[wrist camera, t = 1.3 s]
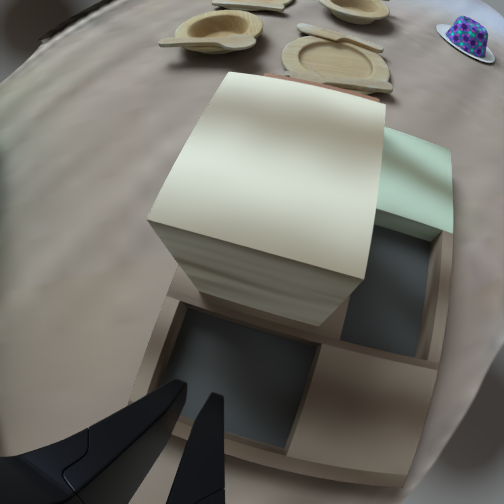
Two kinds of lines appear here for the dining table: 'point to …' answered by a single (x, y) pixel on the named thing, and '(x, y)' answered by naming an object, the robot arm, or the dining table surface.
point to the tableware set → (296, 42)
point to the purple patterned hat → (468, 38)
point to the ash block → (275, 196)
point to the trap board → (328, 342)
